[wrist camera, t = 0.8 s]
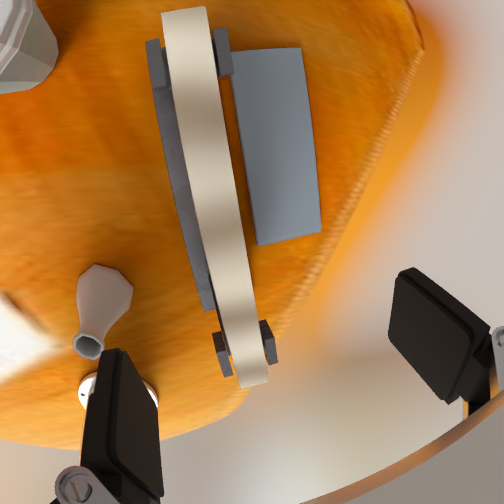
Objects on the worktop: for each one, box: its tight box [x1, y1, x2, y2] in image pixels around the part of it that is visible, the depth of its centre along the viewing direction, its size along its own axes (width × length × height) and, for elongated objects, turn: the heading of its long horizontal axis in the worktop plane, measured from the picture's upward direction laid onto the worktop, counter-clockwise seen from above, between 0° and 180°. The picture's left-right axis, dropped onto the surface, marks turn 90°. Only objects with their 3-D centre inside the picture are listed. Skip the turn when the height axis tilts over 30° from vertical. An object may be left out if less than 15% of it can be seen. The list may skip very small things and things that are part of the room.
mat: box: [230, 48, 321, 246], centre depth 31 cm, size 21×8×1 cm, turn 9°
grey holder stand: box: [145, 28, 278, 377], centre depth 25 cm, size 28×6×14 cm, turn 9°
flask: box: [73, 264, 134, 360], centre depth 29 cm, size 7×7×10 cm
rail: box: [161, 6, 269, 389], centre depth 20 cm, size 28×2×3 cm, turn 9°
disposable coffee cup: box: [0, 0, 59, 94], centre depth 14 cm, size 11×11×15 cm
